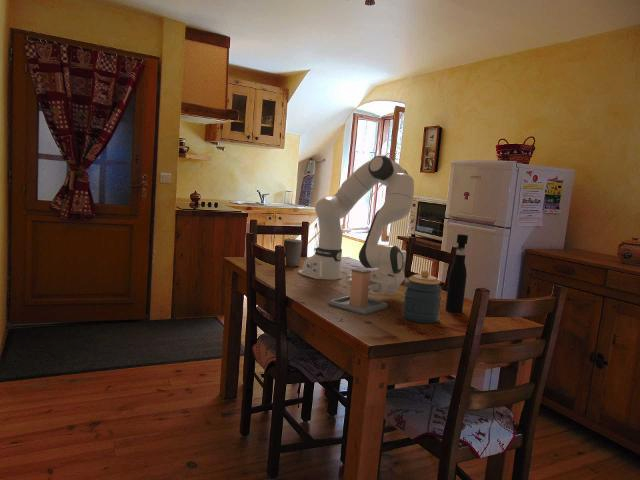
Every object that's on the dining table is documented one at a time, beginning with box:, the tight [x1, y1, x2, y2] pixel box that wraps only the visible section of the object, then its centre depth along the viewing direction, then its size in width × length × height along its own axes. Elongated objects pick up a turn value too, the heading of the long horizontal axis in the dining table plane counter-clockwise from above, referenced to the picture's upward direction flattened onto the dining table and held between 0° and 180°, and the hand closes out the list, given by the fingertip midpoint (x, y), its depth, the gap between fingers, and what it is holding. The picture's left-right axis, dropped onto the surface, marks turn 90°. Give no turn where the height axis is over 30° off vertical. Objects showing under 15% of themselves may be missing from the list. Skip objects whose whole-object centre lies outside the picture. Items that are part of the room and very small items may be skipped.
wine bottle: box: [445, 233, 469, 314], centre depth 184 cm, size 6×6×30 cm
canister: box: [402, 269, 443, 324], centre depth 170 cm, size 13×13×18 cm
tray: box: [328, 294, 388, 316], centre depth 181 cm, size 16×16×2 cm
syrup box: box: [400, 249, 407, 273], centre depth 240 cm, size 6×6×14 cm
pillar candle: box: [283, 238, 303, 268], centre depth 252 cm, size 10×10×15 cm
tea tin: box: [349, 267, 372, 307], centre depth 180 cm, size 5×5×14 cm
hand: (358, 285), depth 179 cm, fingers open, 8 cm apart
